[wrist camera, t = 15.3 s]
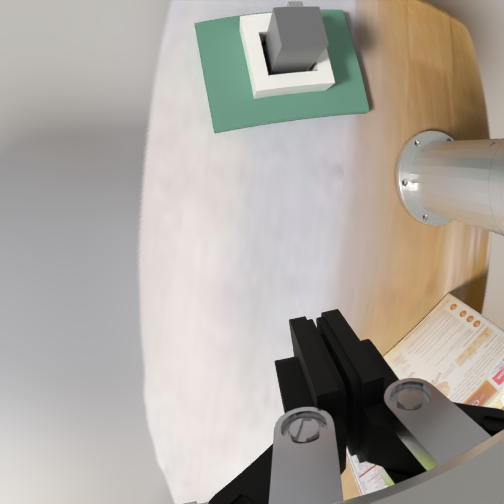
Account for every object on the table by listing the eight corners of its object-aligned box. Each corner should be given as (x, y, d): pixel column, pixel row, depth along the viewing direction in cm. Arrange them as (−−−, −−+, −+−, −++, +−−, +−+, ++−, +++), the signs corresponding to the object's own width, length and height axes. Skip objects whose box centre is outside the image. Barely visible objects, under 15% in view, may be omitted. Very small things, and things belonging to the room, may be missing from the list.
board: (339, 14, 30) (342, 9, 29) (364, 113, 34) (369, 111, 32) (195, 28, 30) (194, 23, 29) (215, 133, 34) (214, 131, 32)
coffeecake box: (397, 381, 44) (454, 464, 25) (377, 359, 42) (438, 450, 24) (463, 318, 42) (540, 379, 23) (448, 290, 40) (535, 351, 22)
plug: (296, 41, 30) (317, 1, 20) (304, 75, 31) (328, 44, 21) (262, 43, 30) (272, 2, 20) (269, 78, 31) (281, 46, 21)
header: (308, 23, 29) (315, 10, 26) (325, 90, 32) (334, 82, 28) (239, 29, 29) (240, 16, 26) (254, 98, 32) (256, 91, 28)
